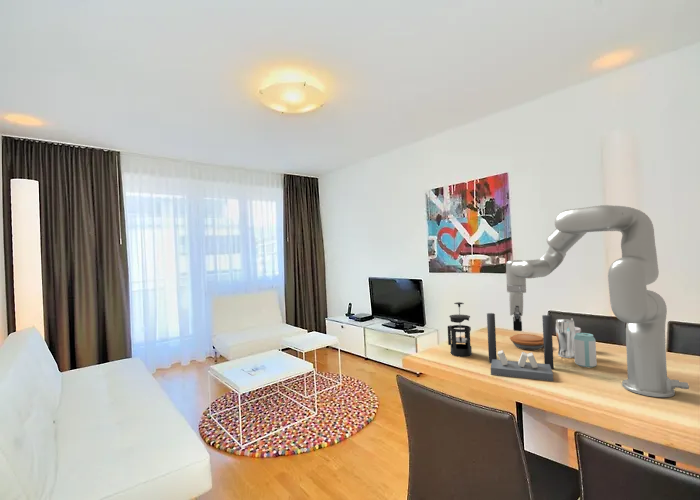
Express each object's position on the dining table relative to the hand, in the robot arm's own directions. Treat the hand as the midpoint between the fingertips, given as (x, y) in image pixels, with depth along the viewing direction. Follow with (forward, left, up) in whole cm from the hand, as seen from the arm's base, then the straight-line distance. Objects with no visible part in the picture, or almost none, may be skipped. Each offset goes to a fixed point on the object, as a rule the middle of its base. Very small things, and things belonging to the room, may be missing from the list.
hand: (517, 328), depth 148 cm
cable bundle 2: (-10, +13, -12) cm, 20 cm away
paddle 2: (-5, +22, -9) cm, 25 cm away
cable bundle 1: (+10, +13, -12) cm, 20 cm away
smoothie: (-22, -17, -12) cm, 30 cm away
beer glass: (-18, -6, -12) cm, 23 cm away
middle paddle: (0, +22, -9) cm, 24 cm away
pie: (-4, -17, -12) cm, 21 cm away
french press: (+24, +4, -12) cm, 27 cm away
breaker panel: (0, +22, -12) cm, 25 cm away
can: (-23, +5, -12) cm, 27 cm away
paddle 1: (+5, +22, -9) cm, 25 cm away
